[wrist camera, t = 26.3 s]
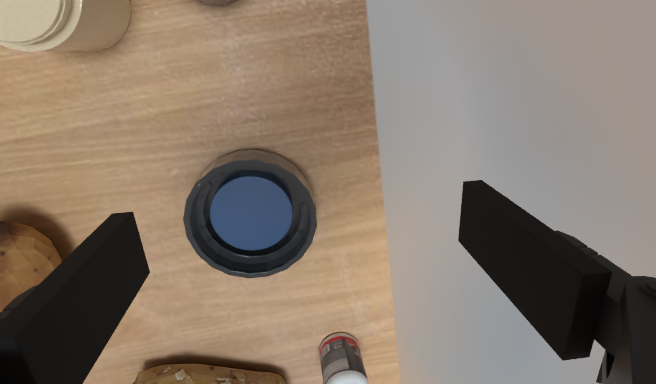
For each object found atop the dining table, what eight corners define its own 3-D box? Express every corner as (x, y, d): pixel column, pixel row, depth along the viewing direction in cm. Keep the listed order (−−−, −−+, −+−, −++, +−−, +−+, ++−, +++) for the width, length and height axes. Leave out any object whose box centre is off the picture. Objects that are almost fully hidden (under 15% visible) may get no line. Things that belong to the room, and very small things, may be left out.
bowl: (309, 144, 40) (313, 155, 36) (315, 250, 45) (319, 271, 41) (183, 152, 39) (172, 165, 35) (204, 261, 44) (196, 283, 39)
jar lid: (200, 181, 39) (197, 188, 38) (279, 160, 40) (279, 166, 38) (228, 250, 43) (225, 259, 41) (300, 230, 43) (301, 238, 41)
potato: (74, 278, 46) (-7, 313, 41) (26, 188, 38) (-80, 219, 34) (90, 317, 41) (1, 361, 37) (39, 223, 34) (-81, 265, 29)
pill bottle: (364, 350, 52) (382, 415, 42) (330, 368, 52) (341, 435, 43) (346, 324, 50) (361, 386, 40) (311, 343, 50) (318, 408, 41)
